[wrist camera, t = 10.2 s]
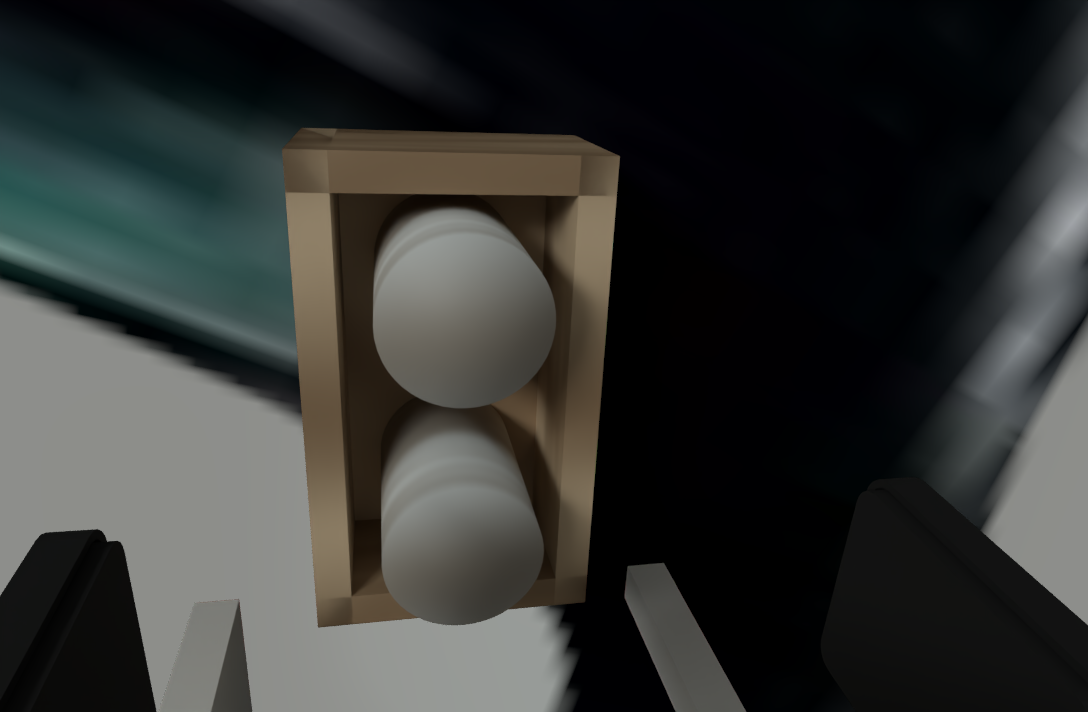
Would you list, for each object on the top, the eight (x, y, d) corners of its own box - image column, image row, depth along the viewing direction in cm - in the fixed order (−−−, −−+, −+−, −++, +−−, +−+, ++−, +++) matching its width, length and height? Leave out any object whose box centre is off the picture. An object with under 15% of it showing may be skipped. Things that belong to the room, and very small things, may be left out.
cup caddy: (301, 127, 18) (270, 162, 13) (574, 135, 19) (648, 169, 14) (327, 531, 22) (312, 684, 17) (552, 514, 23) (603, 652, 18)
